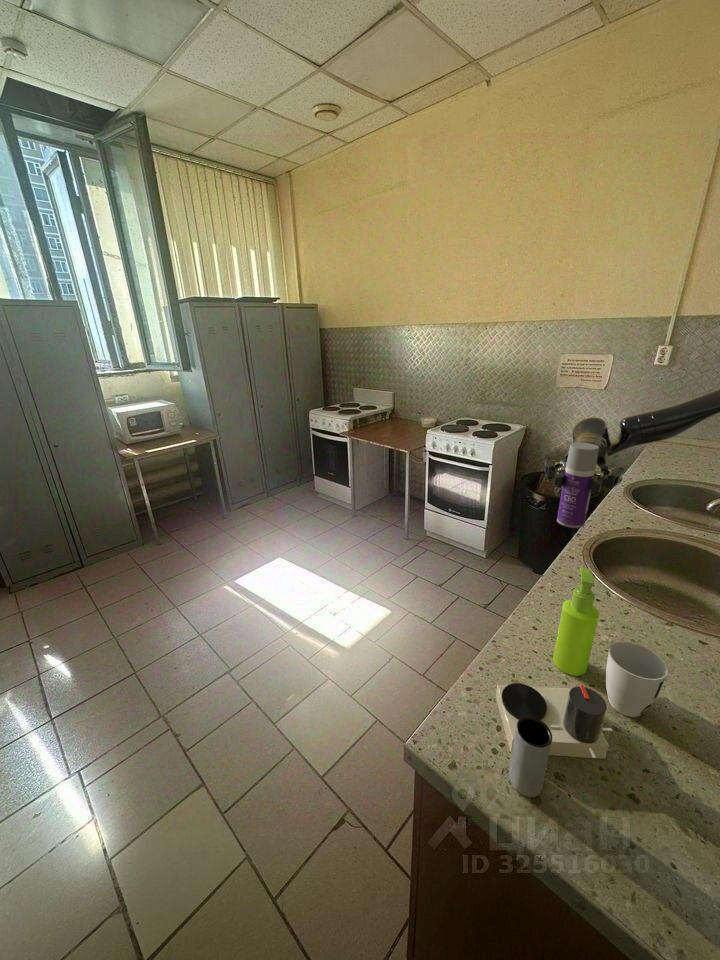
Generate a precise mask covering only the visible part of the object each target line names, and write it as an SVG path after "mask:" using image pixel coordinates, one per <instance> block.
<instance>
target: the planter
mask: <svg viewBox="0 0 720 960" xmlns="http://www.w3.org/2000/svg"><path fill="white" fill-rule="evenodd" d="M551 743H552V733H551V731H550V729H549V728H548V726H547V725H546V724H545V723H544V722H542V721H541V720H539V719H537V718H535V717H530V716H526V717H522V718H521V719H519V720H518V722H517V725H516V731H515V738H514V744H513V750H512V753H511V757H510V758H511V759H510V764H509V770H508V779H509V783H510V784H511V785H512V787H513V789H514V790H515V791H516V792H517V793H518V794H520V795H522V796H524V797H527V798H536V797H538V796H539V795H540V794H541V792H542V790H543V786H544V782H545V778H546V772H547V767H548V763H549V757H550V755H549V753H550V748H551Z"/></svg>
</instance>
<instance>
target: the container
mask: <svg viewBox="0 0 720 960" xmlns="http://www.w3.org/2000/svg"><path fill="white" fill-rule="evenodd" d="M569 448H570V449H569ZM569 448H568V450H569V454H568V459H567V464H566V469H565V475H564V481H563V485H562V488H561V493H560V499H559V506H558V511H557V515H556V516H557V517H556V522H557V523H558V524H559V525H560V526H563V527H566V528H570V529H580V528H584V527H585V525H586V519H587V515H588V510H589V506H590V505H589V504H590V500H591V495H592V493H591V488H592V483H593V479H594V475H595V469H596V463H597V457H598V451H599V446H597V445H594V444H590V443H581V442H578V443H573V442H572V443H571V444H570V445H569Z"/></svg>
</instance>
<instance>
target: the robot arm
mask: <svg viewBox="0 0 720 960" xmlns="http://www.w3.org/2000/svg"><path fill="white" fill-rule="evenodd" d="M719 414H720V388H718V389H715V390H711V391H710V392H707V393H704V394H702V395H699V396H696V397H693V398H691V399H689V400H688V399H687V400H685V401H683V402H680V403H677V404H673V405H670V406H666V407H663V408H660V409H654V410H651V411H646V412H643V413H642V412H641V413H637V414H632V415H629V416H625V417H623V418H621V420H620V421H619V433H618V436H617V437H616V438H615V439H614V440H612V441H611V437H610V433H609V428H608V424H607V422H606V421H605V420H604V419H602V418H600V417H597V416H591V417H586V418H583V419H581V420H580V421H578V422H577V423H576V424H574V426H573V428H572V443H578V442H581V443H590V444H594V445H597V446H599V451H598V457H597V463H596V469H595V475H594V479H593V483H592V488H591V494H593V495H595V494H596V492H598V493H599V492H601V490H602V487H605V488H606V489H609V490H613V489H614V488H616V487H617V486H618V485H620V483H621V482H623V477H624V473H625V468H624V467H621V466H619V467H618V466H617V467H616V468H614V467H613V468H612V469H610V468H609V466H608V465H607V464H608V458H610V457H611V456H614V455H615V454H617V453H620V452H622V451H625V450H628V449H630V448H633V447H638V446H642V445H648V444H652V443H657V442H661V441H666V440H669V439H671V438H674V437H677V436H679V435H681V434H683V433H684V432H686V431H688V430H690V429H691V428H693V427H695V426H697V425H698V424H700V423H702V422H704V421H705V420H707V419H710V418H711V417H715V416H717V415H719ZM569 449H570V447H569V448H568V450H567V451H566V454H565V456H564V458H562V459H561V460H559V461H556V460H555V459H553V458H552V457H545V460H544V467H543V471H544V474H545V477H546V479H548V480H553V485H554V486H556V488H558V489H562V486H563V481H564V475H565V469H566V464H567V459H568V454H569Z"/></svg>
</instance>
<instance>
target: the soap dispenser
mask: <svg viewBox="0 0 720 960" xmlns="http://www.w3.org/2000/svg"><path fill="white" fill-rule="evenodd" d="M579 572H580V573H579V574H580V585H579V587H576V588H574V590H573V593H572V598H570V599H567V600H564V602H563V603H562V609H561V613H560V619H559V624H558V629H557V635H556V641H555V644H554V645H555V646H554V651H553V657H552V661H553V663H554V666H555V667H556V668H557V669H558V670H559V671H561V672H563V673H564V674H567V675H569V676H574V677H578V676H579V677H580V676H583V675H584V674H585V673H587V670H588V665H589V662H590V657H591V652H592V648H593V644H594V639H595V635H596V630H597V626H598V623H599V619H600V612H599V610H598V608H597V607H596V606H595V605H594V602H595V599H596V596H595V595H596V594H595V593H594V592H593V591H592V587H594V586H595V579H594V573H593V570H592V569H591V568H587V567H583V566H580V567H579Z"/></svg>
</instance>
